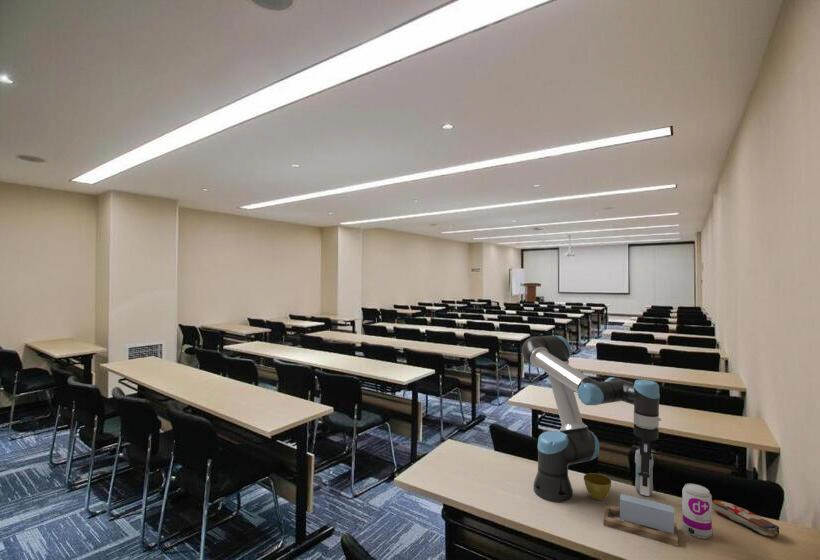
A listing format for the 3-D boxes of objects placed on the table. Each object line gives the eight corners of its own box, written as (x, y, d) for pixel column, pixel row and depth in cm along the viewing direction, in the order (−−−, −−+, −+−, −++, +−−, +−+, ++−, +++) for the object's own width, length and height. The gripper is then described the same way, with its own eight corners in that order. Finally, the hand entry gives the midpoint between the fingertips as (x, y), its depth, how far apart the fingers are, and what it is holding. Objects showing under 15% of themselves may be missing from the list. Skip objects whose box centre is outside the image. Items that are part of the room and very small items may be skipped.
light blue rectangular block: (619, 524, 141) (619, 499, 141) (620, 518, 145) (620, 493, 145) (673, 539, 133) (673, 512, 133) (673, 532, 137) (673, 506, 137)
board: (603, 524, 141) (603, 519, 141) (606, 509, 150) (606, 504, 150) (678, 546, 130) (677, 540, 130) (676, 528, 139) (676, 523, 139)
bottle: (656, 498, 159) (656, 448, 159) (638, 496, 160) (638, 446, 160) (649, 489, 165) (649, 441, 165) (632, 488, 166) (632, 440, 167)
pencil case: (730, 507, 153) (730, 494, 153) (786, 539, 134) (786, 524, 134) (705, 510, 151) (705, 496, 151) (759, 543, 132) (759, 528, 132)
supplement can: (713, 542, 131) (713, 497, 132) (683, 534, 136) (683, 490, 136) (710, 529, 138) (710, 486, 139) (681, 522, 143) (681, 480, 143)
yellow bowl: (578, 493, 163) (578, 475, 163) (596, 488, 166) (596, 471, 166) (598, 505, 153) (598, 487, 153) (617, 500, 157) (617, 482, 157)
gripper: (659, 440, 127) (657, 506, 127) (658, 416, 148) (657, 473, 148) (632, 435, 130) (631, 499, 131) (635, 413, 152) (634, 468, 152)
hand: (644, 485), depth 139 cm, fingers open, 13 cm apart
